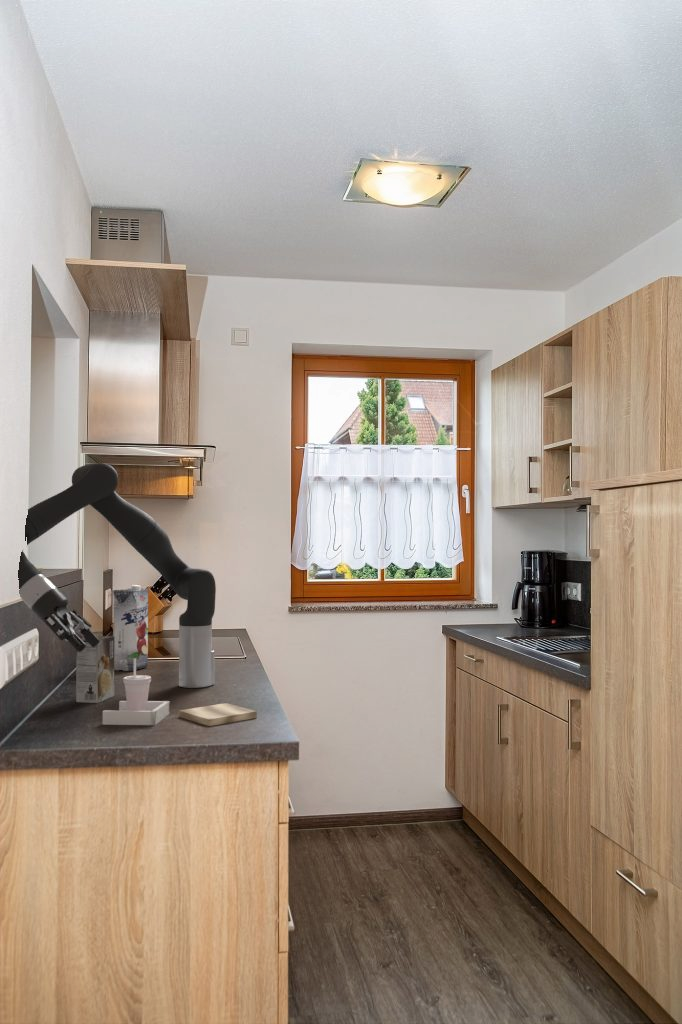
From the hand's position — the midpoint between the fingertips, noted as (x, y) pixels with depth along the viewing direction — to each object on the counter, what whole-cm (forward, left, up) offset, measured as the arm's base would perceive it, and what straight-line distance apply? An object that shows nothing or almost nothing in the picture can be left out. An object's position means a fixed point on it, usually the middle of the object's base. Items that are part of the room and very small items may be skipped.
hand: (90, 646), depth 192 cm
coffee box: (-11, -21, -17) cm, 29 cm away
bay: (-8, +8, -17) cm, 20 cm away
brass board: (-23, +19, -17) cm, 34 cm away
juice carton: (-41, -61, -17) cm, 75 cm away
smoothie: (-8, +8, -17) cm, 20 cm away
